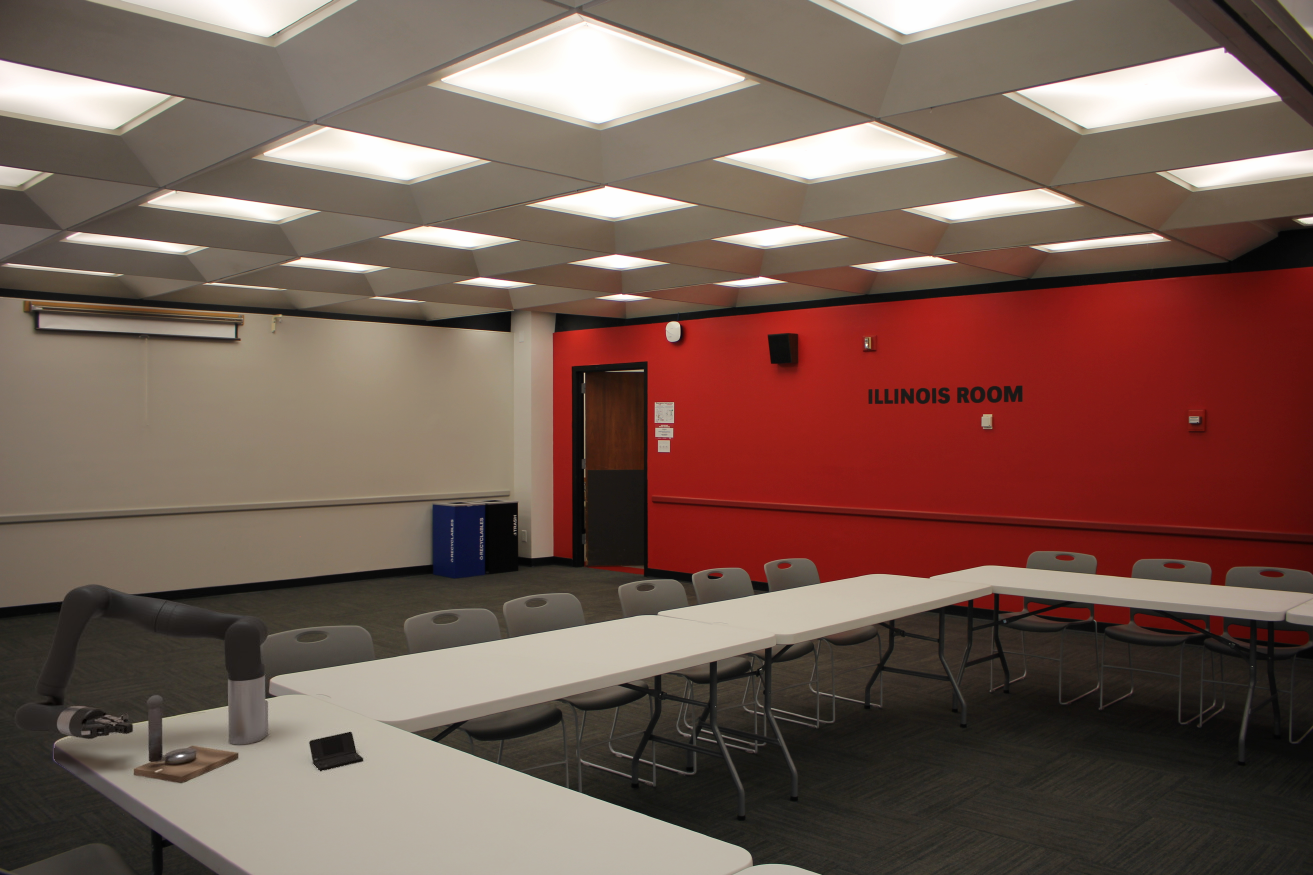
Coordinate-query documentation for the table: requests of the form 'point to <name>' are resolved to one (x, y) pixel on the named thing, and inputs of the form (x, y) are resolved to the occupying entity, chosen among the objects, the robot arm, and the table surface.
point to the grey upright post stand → (156, 737)
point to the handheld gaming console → (334, 751)
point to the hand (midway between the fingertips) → (130, 728)
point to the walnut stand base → (187, 765)
